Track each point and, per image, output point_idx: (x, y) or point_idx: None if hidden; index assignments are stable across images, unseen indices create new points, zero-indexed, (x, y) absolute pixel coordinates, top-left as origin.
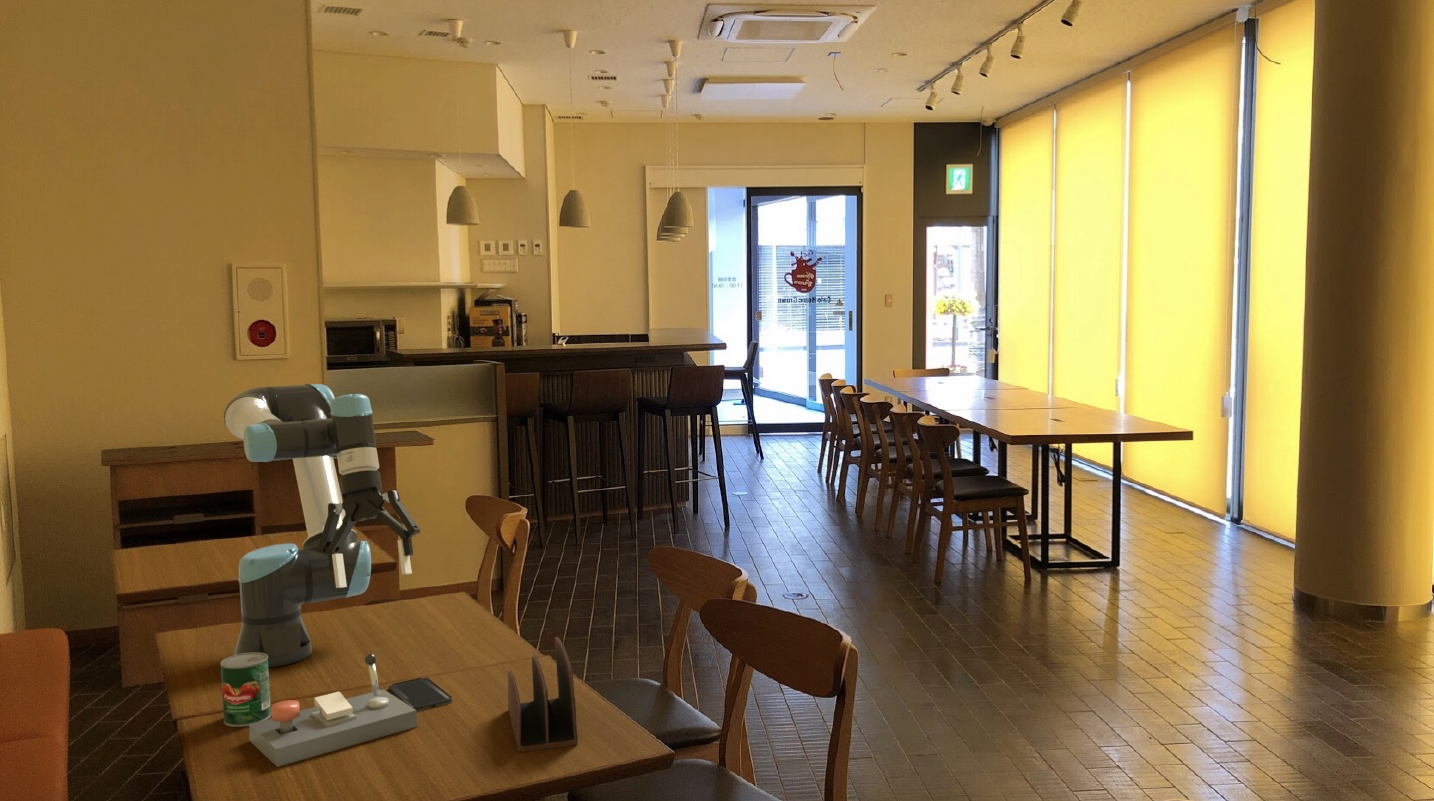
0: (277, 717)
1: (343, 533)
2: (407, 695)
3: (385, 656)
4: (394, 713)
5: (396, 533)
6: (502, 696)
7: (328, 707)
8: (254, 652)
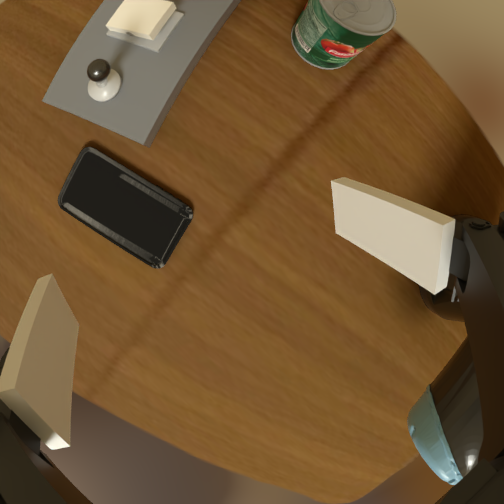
0: None
1: (499, 319)
2: (131, 187)
3: (308, 335)
4: (64, 75)
5: (10, 433)
6: (19, 252)
7: (136, 2)
8: (376, 33)
